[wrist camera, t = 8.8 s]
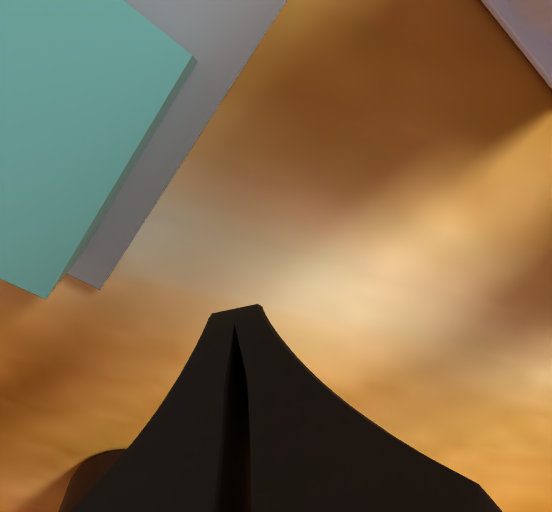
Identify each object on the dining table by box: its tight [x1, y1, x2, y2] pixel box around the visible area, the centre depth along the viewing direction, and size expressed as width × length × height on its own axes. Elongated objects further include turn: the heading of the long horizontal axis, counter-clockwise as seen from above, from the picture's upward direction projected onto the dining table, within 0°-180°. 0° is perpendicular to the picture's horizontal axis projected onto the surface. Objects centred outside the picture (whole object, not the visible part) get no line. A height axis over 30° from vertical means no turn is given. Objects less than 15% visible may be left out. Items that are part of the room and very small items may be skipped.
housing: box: [0, 0, 198, 299], centre depth 13 cm, size 7×10×3 cm
